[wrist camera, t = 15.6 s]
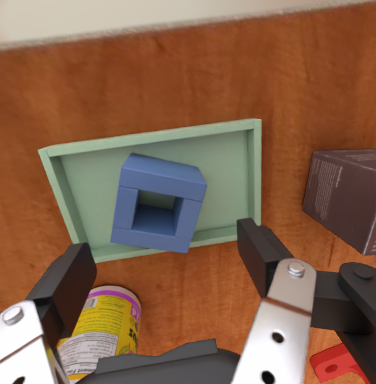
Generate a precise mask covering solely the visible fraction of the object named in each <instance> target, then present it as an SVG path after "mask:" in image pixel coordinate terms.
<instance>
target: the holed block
mask: <svg viewBox="0 0 376 384" xmlns="http://www.w3.org/2000/svg"><path fill="white" fill-rule="evenodd" d="M118 185H119V186H118V190H117V197H116V204H115V211H114V218H113V225H112V226H113V227H112V232H111V239H110V243H116V244H123V245H129V246H136V247H143V248H150V249H157V250H164V251H171V252H178V253H185V254H187V253H188V250H189V247H190V243H191V239H192V237H193V234H194V230H195V227H196V223H197V220H198V217H199V213H200V210H201V206H202V203H203V202H202V201H203V199H204V196H205V192H206V189H207V183H206V181H205V179H204V177H203V175H202V173H201V172H200V170H199V168H198V167H196V166H191V165H187V164H182V163H177V162H173V161H168V160H164V159H159V158H155V157H150V156H146V155H141V154H136V153H131V154H130V155H129V157H128V158H127V159H126V161H125V162H124V164H123V165H122V166H121V170H120V177H119V184H118ZM141 190H144V191H149V192H154V193H160V194H165V195H170V196H175V200H174V205H173V209H172V210H171V209H165V208H160V207H154V206H149V205H143V204H139V199H140V193H141Z"/></svg>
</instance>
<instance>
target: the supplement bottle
mask: <svg viewBox="0 0 376 384" xmlns="http://www.w3.org/2000/svg"><path fill="white" fill-rule="evenodd" d="M140 320H141V306H140V302H139V300H138V299H137V297H136V296H135V295H134V294H133V293H132V292H130V291H129V290H127V289H125V288H122V287H119V286H101V287H97V288H94V289H92V290H91V291H90V293H89V295H88V298H87V300H86V303H85V305H84V307H83V310H82V312H81V315H80V317H79V319H78V322H77V324H76V327H75V329H74V331H73V334H72V336H71V337H70V338H64V339H62V340H61V342H60V345H59V347H58V350H59V353H60V356H61V358H62V361H63V364H64V367H65V370H66V373H67V376H68V379H69V382H70V384H75V383H76V382H77V381H79V380H80V379H82V378H83V377H84V376H86V375H88V374H90V373H91V372H93V371H95V370H96V366H97V363H98V359H99V358H104V357H110V356H116V355H121V354H127V353H128V354H137V348H138V338H139V330H140Z"/></svg>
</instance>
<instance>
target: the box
mask: <svg viewBox="0 0 376 384" xmlns="http://www.w3.org/2000/svg"><path fill="white" fill-rule="evenodd" d="M303 211H304V212H305V213H307V214H308V215H309V216H311V217H312V218H313V219H315V220H316V221H318V222H319V223H320V224H322V225H323V226H324V227H326V228H327V229H328V230H330V231H331V232H333V233H334V234H335V235H337V236H338V237H339V238H341V239H342V240H343V241H345V242H346V243H347V244H349V245H351V246H352V247H353V248H355V249H356V250H357V251H358V252H359V253H361V254H362V255H363V256H367V255H376V149H349V150H347V149H346V150H324V151H314V152H313V156H312V161H311V167H310V172H309V178H308V183H307V188H306V193H305V198H304V203H303Z"/></svg>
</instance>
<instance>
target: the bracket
mask: <svg viewBox="0 0 376 384" xmlns="http://www.w3.org/2000/svg"><path fill="white" fill-rule="evenodd" d="M310 362H311V364H312V367H313V369H314V371H315V374H316V376H317V377H318V379H319V381H320V383H323V382H325V381H328V380H330V379H333V378H335V377H338V376H340V375H343V374H345V373H348V372H354V373H356V374H358V375H359V376H361V377H362V379H363V380H364V381H365V383H366V384H370V382H369V381H368V379H367V378H366V376H365V375H364V373H363V372H362V370H361V369H360V367H359V366H358V364H357V363H356V361H355V360H354V358H353V357H352V356H351V354H350V353H349V351H348V350H347V348H346V347H345V345H344V344H340V345H338V346H335V347H333V348H330V349H328V350H325V351H323V352H321V353H318V354H316V355H314V356H313V357H312V358H311V359H310Z"/></svg>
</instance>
